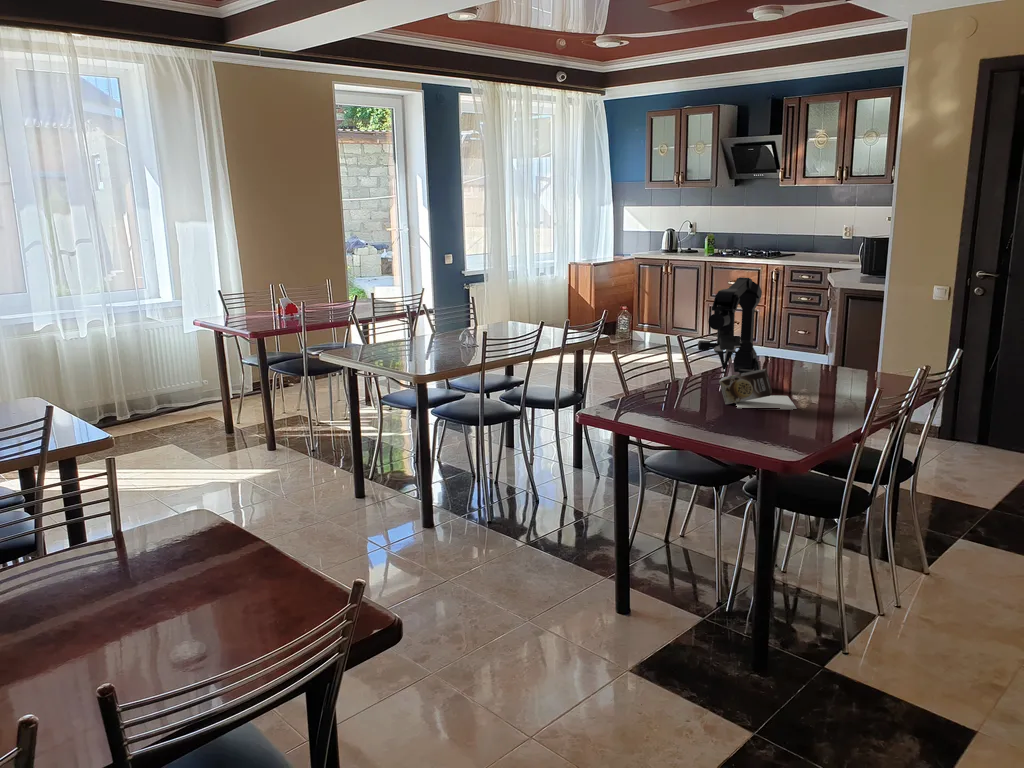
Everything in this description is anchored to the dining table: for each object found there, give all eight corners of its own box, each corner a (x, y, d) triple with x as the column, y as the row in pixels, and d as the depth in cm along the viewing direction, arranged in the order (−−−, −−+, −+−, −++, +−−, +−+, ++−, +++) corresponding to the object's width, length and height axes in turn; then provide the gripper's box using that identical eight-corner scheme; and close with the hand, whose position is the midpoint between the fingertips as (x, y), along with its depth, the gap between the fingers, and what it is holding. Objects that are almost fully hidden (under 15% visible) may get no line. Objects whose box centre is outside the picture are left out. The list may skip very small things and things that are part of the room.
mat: (731, 396, 295) (731, 394, 295) (787, 397, 292) (787, 395, 291) (737, 408, 277) (737, 406, 277) (796, 409, 274) (796, 407, 274)
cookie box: (718, 381, 282) (764, 371, 274) (721, 377, 287) (766, 367, 280) (725, 405, 282) (771, 396, 275) (728, 401, 288) (773, 391, 281)
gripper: (700, 329, 274) (699, 373, 278) (756, 329, 271) (754, 374, 275) (698, 324, 285) (697, 367, 289) (751, 325, 282) (749, 367, 286)
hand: (724, 369), depth 284 cm, fingers closed
